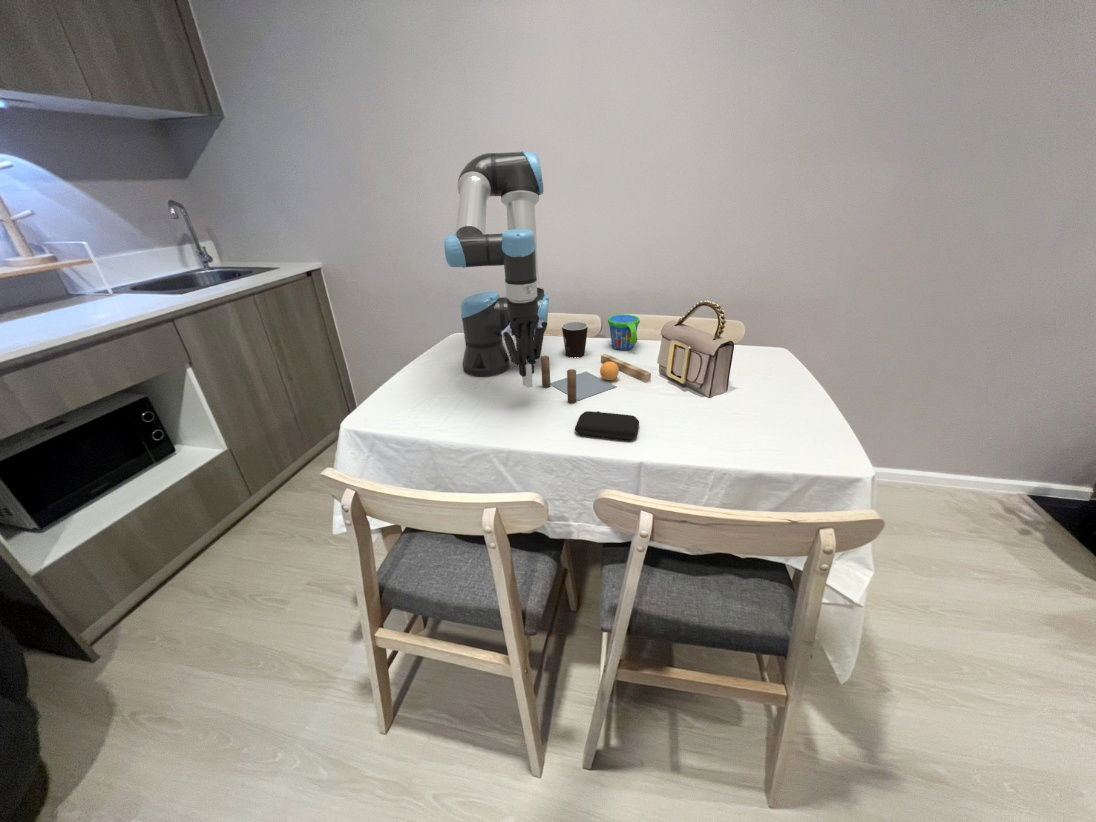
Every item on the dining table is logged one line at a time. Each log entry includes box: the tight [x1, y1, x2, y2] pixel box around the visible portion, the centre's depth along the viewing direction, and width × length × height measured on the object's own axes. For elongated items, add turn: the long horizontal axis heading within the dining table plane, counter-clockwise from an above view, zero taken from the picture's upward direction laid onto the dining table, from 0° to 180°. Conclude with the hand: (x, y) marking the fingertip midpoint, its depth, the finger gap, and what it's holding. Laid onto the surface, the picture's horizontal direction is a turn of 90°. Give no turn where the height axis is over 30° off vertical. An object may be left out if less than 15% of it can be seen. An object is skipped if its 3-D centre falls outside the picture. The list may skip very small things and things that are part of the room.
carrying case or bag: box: [574, 410, 640, 442], centre depth 111 cm, size 11×3×15 cm
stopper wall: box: [600, 353, 652, 383], centre depth 141 cm, size 20×2×2 cm, turn 35°
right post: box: [566, 368, 577, 404], centre depth 123 cm, size 2×2×9 cm
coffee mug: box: [561, 321, 589, 359], centre depth 155 cm, size 12×9×10 cm
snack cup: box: [607, 313, 641, 351], centre depth 158 cm, size 16×10×10 cm
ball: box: [599, 362, 620, 381], centre depth 135 cm, size 6×6×6 cm
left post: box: [540, 355, 551, 389], centre depth 132 cm, size 2×2×9 cm
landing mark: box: [550, 371, 617, 402], centre depth 134 cm, size 14×14×1 cm
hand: (527, 385), depth 123 cm, fingers closed
